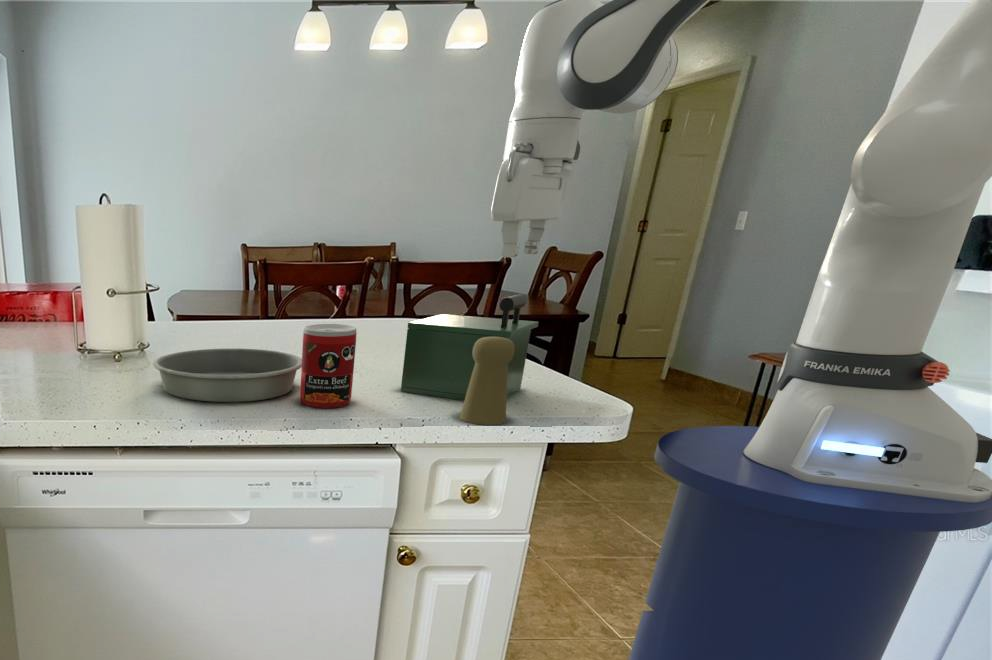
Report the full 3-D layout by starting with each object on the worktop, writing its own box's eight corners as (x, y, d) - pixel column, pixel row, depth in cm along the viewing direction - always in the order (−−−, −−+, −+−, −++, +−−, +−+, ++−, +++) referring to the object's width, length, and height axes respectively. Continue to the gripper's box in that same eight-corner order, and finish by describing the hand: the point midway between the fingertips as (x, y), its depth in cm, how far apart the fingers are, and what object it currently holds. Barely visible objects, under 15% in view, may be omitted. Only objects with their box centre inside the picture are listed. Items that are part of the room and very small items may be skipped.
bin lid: (537, 327, 109) (544, 292, 107) (510, 337, 101) (516, 300, 99) (440, 319, 119) (444, 287, 117) (407, 328, 110) (411, 294, 108)
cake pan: (293, 371, 129) (294, 346, 127) (311, 405, 106) (313, 374, 104) (158, 372, 129) (157, 347, 127) (148, 406, 107) (147, 376, 105)
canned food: (299, 408, 105) (303, 331, 100) (299, 395, 112) (303, 323, 107) (352, 409, 104) (358, 332, 99) (349, 396, 111) (355, 323, 106)
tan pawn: (461, 423, 96) (473, 340, 92) (457, 412, 102) (468, 333, 97) (509, 425, 95) (524, 341, 90) (502, 414, 100) (516, 334, 96)
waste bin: (520, 389, 114) (531, 326, 110) (492, 404, 105) (503, 337, 101) (432, 378, 123) (440, 319, 119) (400, 391, 114) (407, 328, 110)
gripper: (540, 139, 87) (519, 260, 93) (584, 149, 101) (563, 253, 107) (488, 142, 91) (471, 258, 97) (538, 151, 105) (520, 251, 111)
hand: (520, 255), depth 102 cm, fingers open, 8 cm apart
